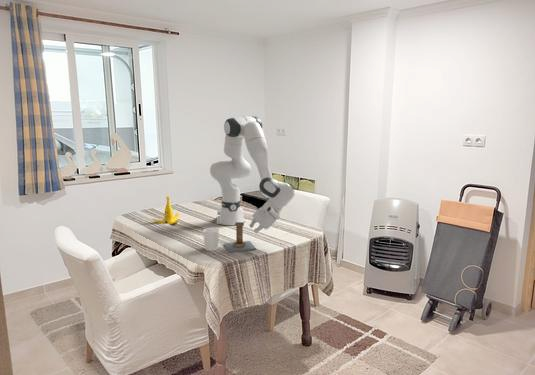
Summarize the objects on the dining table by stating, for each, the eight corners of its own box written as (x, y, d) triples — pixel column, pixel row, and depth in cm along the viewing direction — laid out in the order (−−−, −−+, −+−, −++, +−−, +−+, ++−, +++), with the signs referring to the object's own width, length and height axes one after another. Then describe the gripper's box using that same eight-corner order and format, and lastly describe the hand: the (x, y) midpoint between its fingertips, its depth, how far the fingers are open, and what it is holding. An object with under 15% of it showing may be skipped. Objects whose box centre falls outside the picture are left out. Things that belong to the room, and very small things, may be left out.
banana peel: (177, 226, 240) (176, 199, 237) (150, 223, 246) (149, 197, 242) (190, 219, 255) (190, 194, 252) (165, 216, 261) (164, 192, 258)
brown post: (232, 244, 204) (232, 222, 202) (243, 243, 206) (243, 221, 204) (235, 248, 199) (235, 225, 196) (246, 247, 201) (246, 224, 198)
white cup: (207, 245, 205) (207, 227, 203) (221, 247, 203) (221, 228, 201) (201, 250, 198) (200, 231, 196) (215, 252, 195) (214, 232, 193)
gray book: (223, 244, 206) (223, 243, 206) (249, 242, 210) (249, 240, 210) (228, 252, 195) (228, 251, 195) (255, 249, 199) (255, 248, 199)
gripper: (260, 201, 212) (243, 220, 211) (272, 210, 193) (253, 231, 192) (268, 209, 215) (251, 227, 214) (280, 218, 195) (262, 239, 194)
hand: (252, 229), depth 203 cm, fingers open, 8 cm apart
